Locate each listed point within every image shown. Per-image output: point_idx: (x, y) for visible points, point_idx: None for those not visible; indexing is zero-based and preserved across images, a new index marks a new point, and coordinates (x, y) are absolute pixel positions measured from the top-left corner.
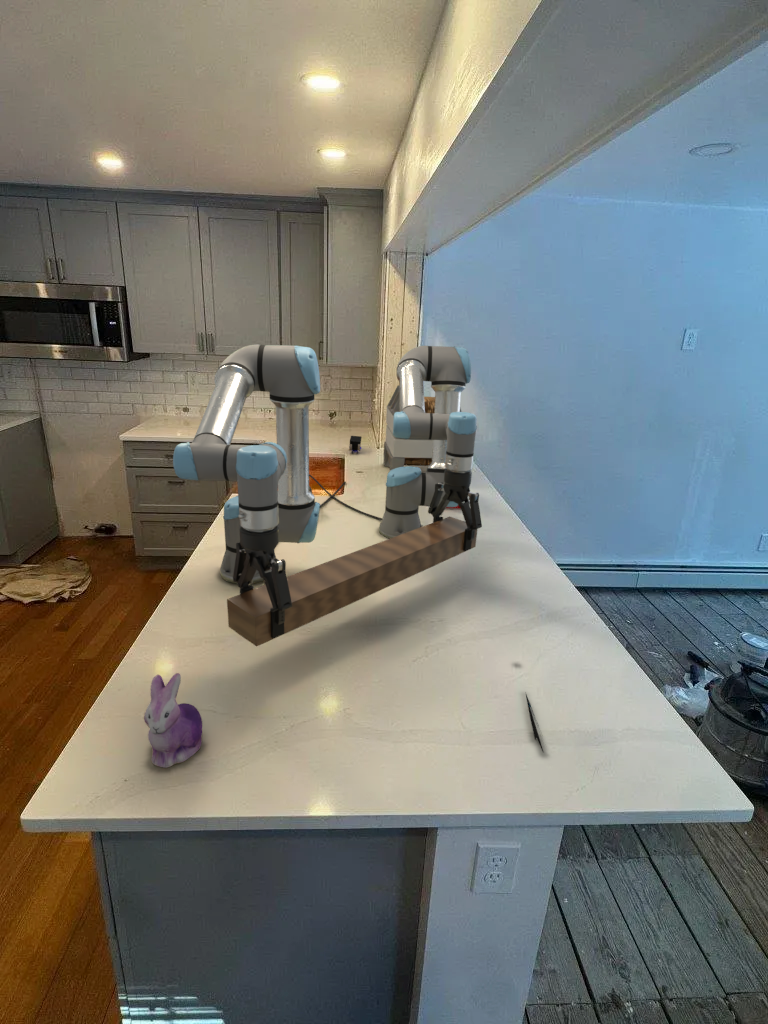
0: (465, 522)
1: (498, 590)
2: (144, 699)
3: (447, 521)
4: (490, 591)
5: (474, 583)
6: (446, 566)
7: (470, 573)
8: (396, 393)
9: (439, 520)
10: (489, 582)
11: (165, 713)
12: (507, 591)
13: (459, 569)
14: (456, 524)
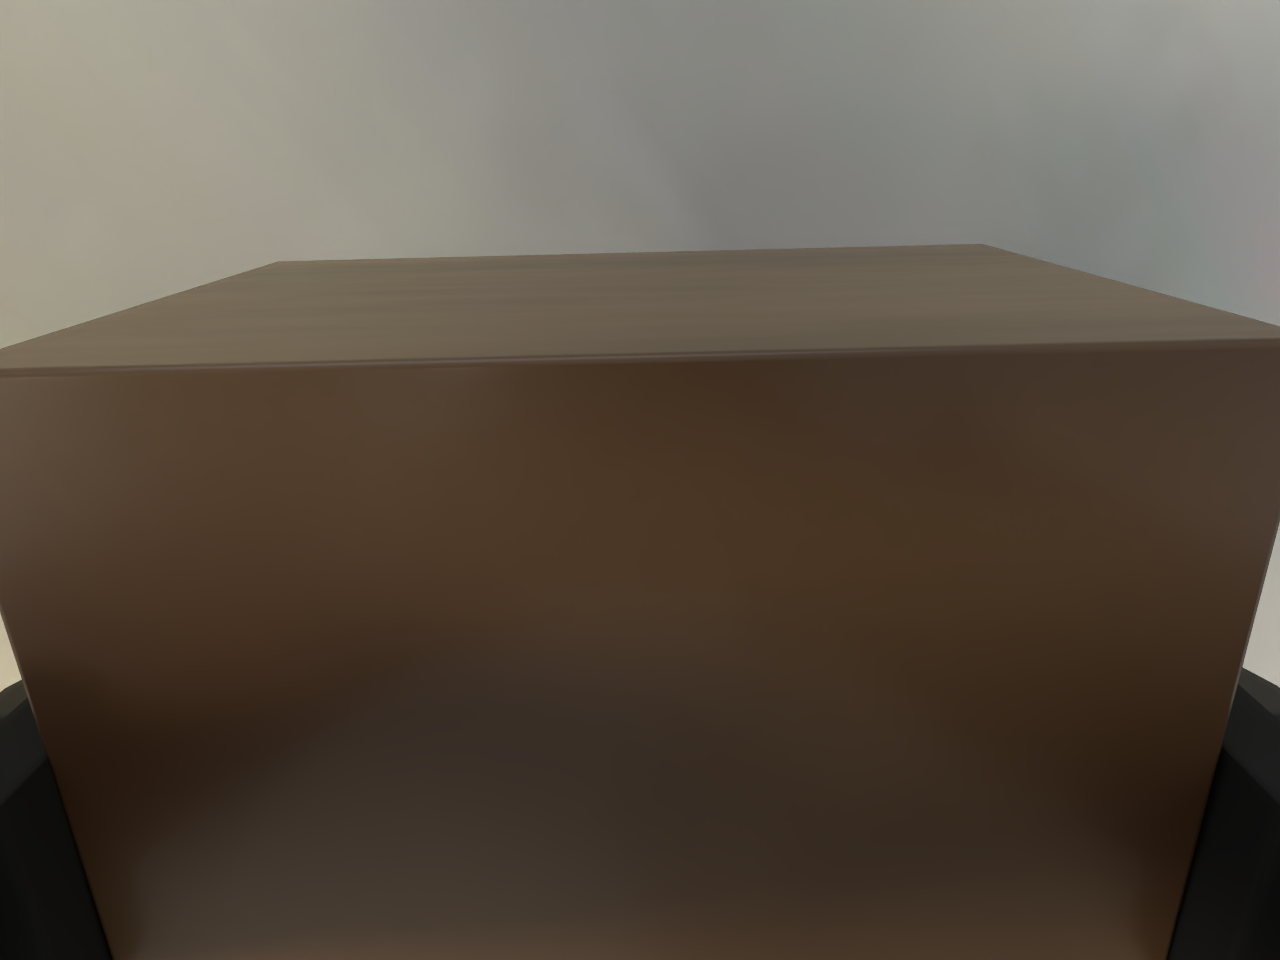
0: (771, 419)
1: (1168, 160)
2: None
3: (312, 808)
4: (1105, 253)
5: (879, 231)
6: (381, 116)
7: (699, 38)
8: None
9: (111, 913)
10: (998, 63)
11: None
12: (1263, 97)
13: (538, 53)
14: (678, 796)
